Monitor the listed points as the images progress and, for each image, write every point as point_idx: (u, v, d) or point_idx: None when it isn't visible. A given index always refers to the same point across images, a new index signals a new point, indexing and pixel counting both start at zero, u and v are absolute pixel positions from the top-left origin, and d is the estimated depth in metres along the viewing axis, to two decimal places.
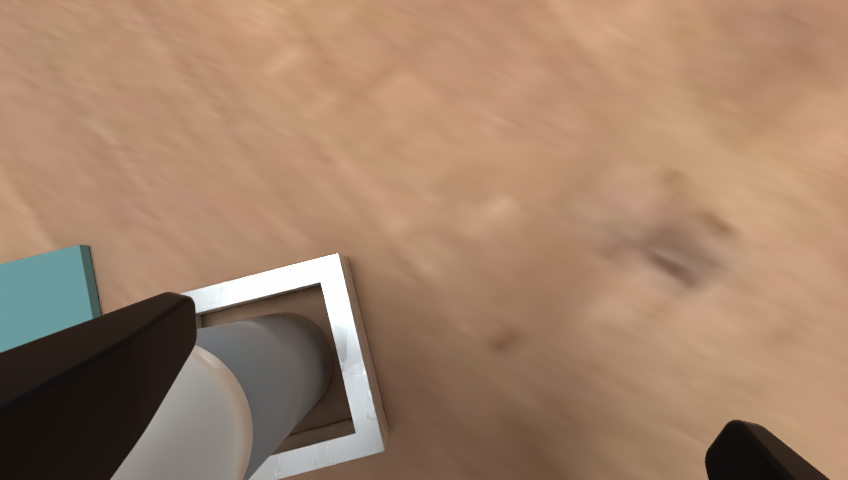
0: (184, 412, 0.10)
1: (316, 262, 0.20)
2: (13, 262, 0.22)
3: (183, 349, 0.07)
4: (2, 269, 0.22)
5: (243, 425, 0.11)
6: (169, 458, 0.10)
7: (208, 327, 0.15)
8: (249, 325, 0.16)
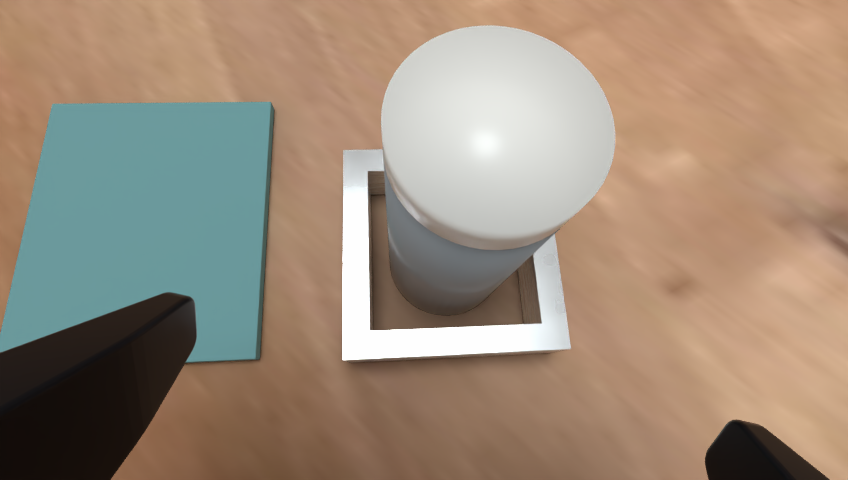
0: (565, 96, 0.10)
1: None
2: (202, 103, 0.21)
3: (183, 349, 0.07)
4: (189, 107, 0.21)
5: None
6: (547, 134, 0.10)
7: None
8: None
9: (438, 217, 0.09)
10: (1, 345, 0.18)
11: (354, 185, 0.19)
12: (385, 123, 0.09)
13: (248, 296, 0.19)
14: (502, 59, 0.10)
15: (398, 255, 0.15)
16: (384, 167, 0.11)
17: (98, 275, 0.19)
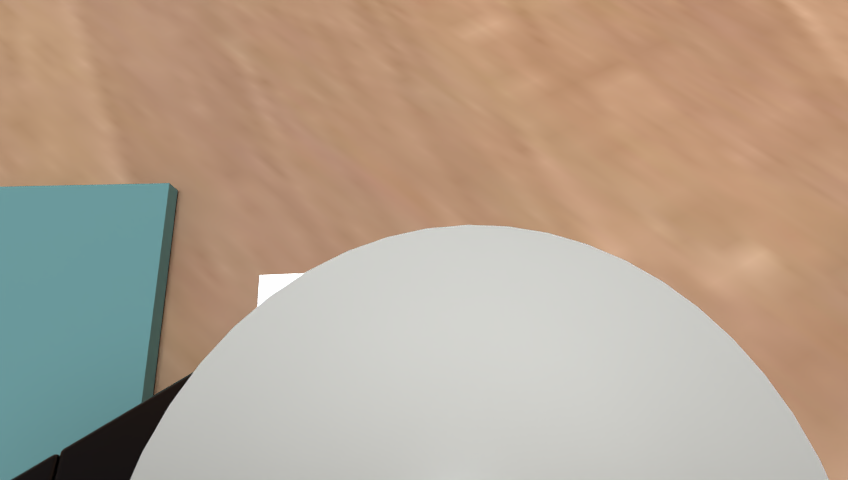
0: (704, 476, 0.03)
1: None
2: (68, 187, 0.15)
3: None
4: (48, 193, 0.15)
5: None
6: None
7: None
8: None
9: None
10: None
11: None
12: None
13: None
14: (505, 341, 0.03)
15: None
16: None
17: None
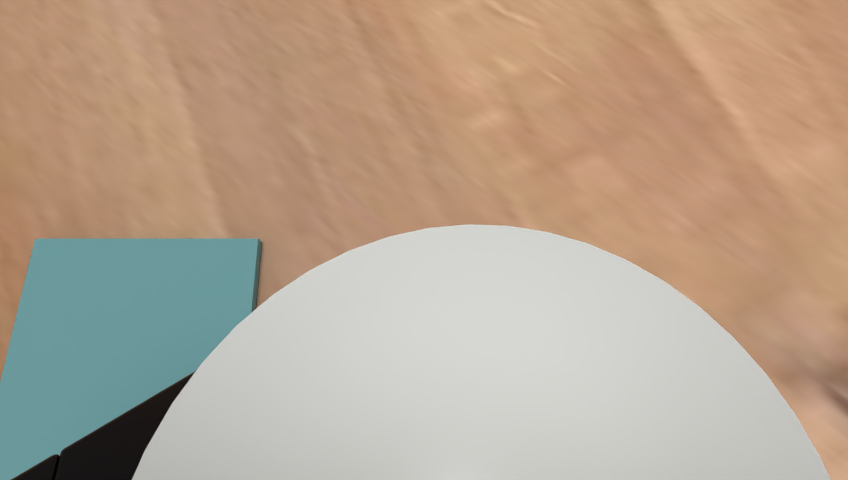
0: (705, 475, 0.03)
1: None
2: (187, 239, 0.21)
3: None
4: (174, 244, 0.21)
5: None
6: None
7: None
8: None
9: None
10: None
11: None
12: None
13: None
14: (508, 340, 0.03)
15: None
16: None
17: (73, 434, 0.18)
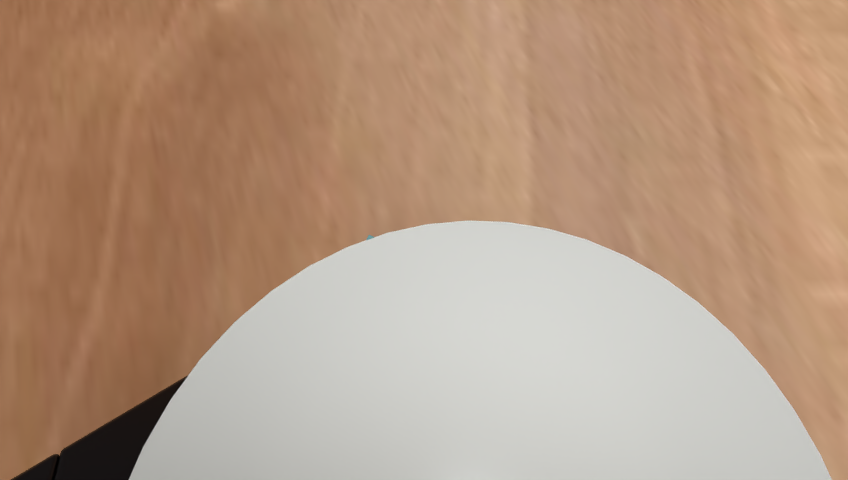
0: (705, 471, 0.03)
1: None
2: None
3: None
4: None
5: None
6: None
7: None
8: None
9: None
10: None
11: None
12: None
13: None
14: (507, 336, 0.03)
15: None
16: None
17: None
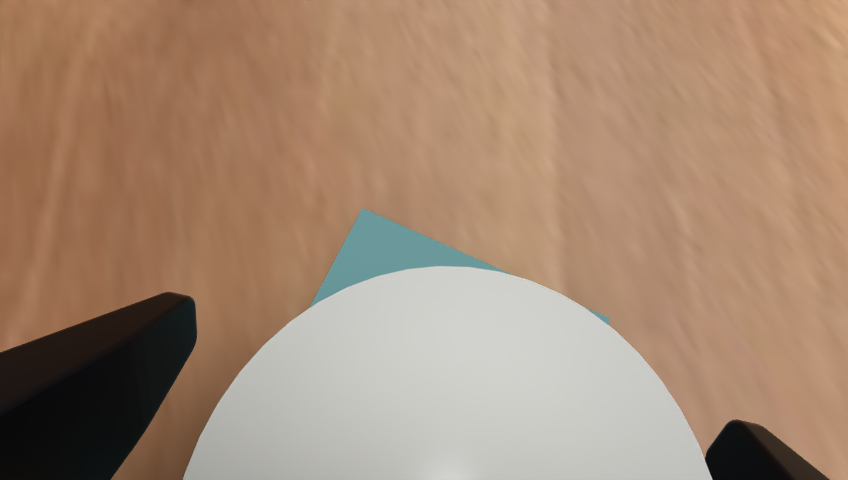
0: (610, 455, 0.04)
1: None
2: None
3: (183, 349, 0.07)
4: None
5: None
6: None
7: None
8: None
9: None
10: None
11: None
12: None
13: None
14: (466, 355, 0.04)
15: None
16: None
17: None
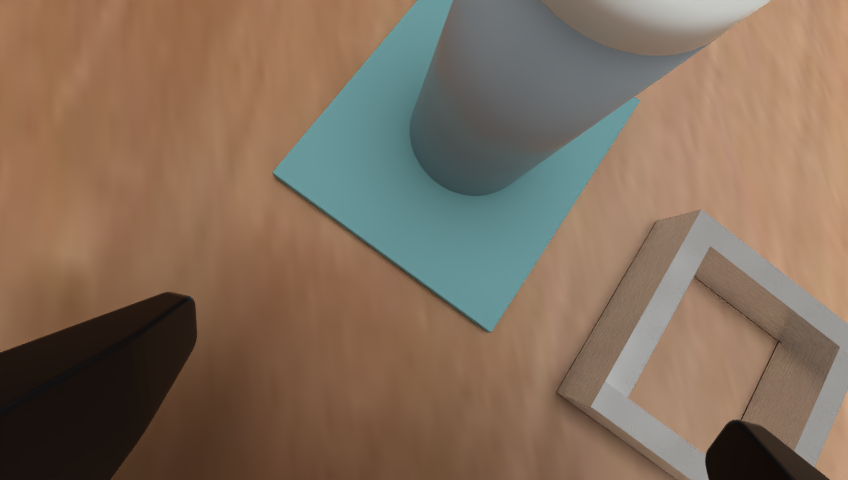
0: None
1: (846, 328, 0.18)
2: None
3: (183, 349, 0.07)
4: None
5: None
6: None
7: None
8: None
9: None
10: (292, 153, 0.17)
11: (691, 250, 0.17)
12: None
13: (517, 270, 0.18)
14: None
15: (446, 84, 0.12)
16: None
17: (405, 152, 0.17)
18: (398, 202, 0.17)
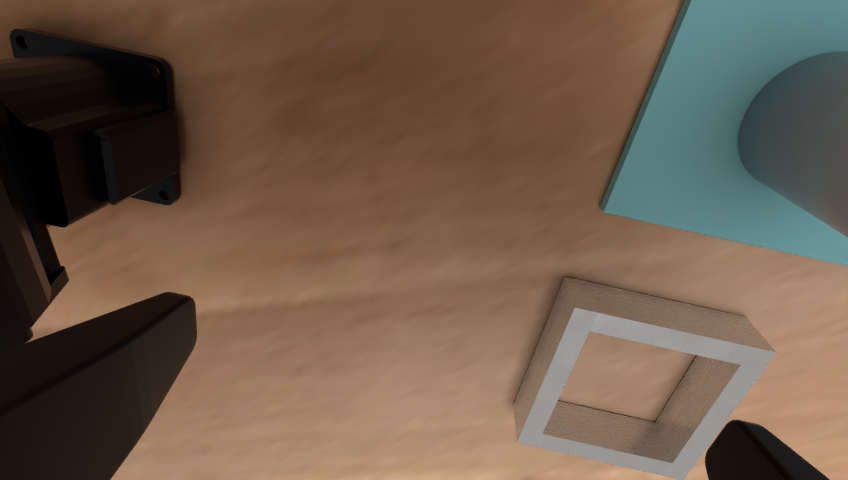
0: None
1: (689, 466, 0.22)
2: None
3: (183, 349, 0.07)
4: None
5: None
6: None
7: None
8: None
9: None
10: None
11: (732, 352, 0.19)
12: None
13: (667, 216, 0.19)
14: None
15: None
16: None
17: (776, 65, 0.16)
18: (714, 81, 0.16)
